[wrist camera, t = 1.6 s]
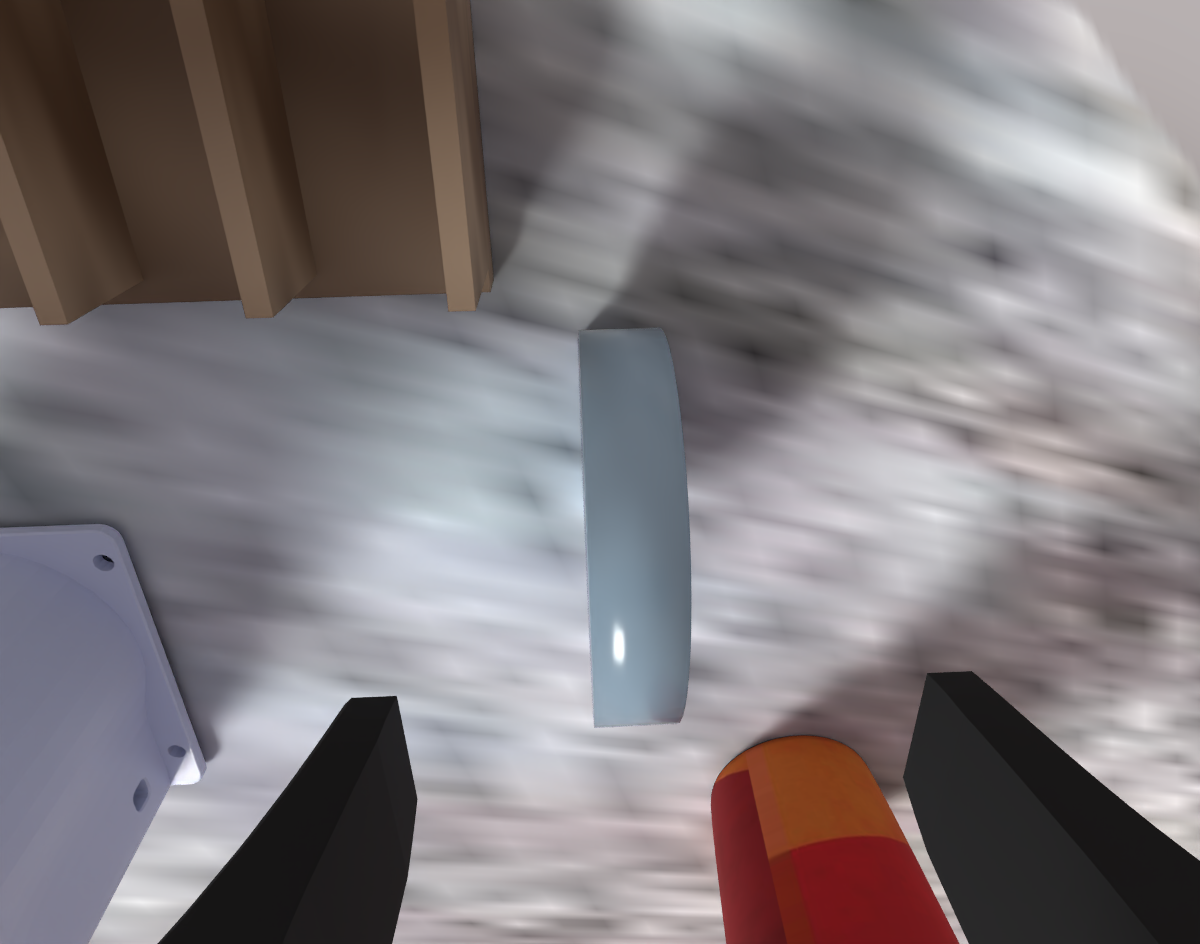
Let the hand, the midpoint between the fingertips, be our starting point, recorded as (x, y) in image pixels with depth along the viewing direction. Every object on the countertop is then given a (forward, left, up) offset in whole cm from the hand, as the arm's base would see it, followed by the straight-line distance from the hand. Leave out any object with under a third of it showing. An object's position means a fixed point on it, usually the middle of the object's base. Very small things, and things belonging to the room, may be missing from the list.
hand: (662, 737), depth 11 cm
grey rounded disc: (0, 0, -11) cm, 11 cm away
